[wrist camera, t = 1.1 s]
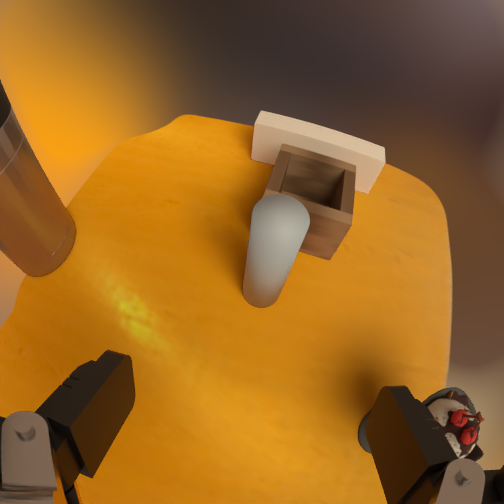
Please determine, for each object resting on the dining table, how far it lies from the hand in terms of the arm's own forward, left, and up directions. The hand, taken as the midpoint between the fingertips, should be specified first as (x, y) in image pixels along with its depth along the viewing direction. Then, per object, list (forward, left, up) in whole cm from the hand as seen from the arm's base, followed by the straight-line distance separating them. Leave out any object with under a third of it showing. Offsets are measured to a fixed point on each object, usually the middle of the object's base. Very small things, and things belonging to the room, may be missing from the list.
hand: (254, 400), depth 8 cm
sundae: (+14, 0, -17) cm, 22 cm away
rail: (+1, +29, -17) cm, 34 cm away
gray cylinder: (-1, +11, -17) cm, 20 cm away
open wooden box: (+1, +20, -17) cm, 27 cm away
